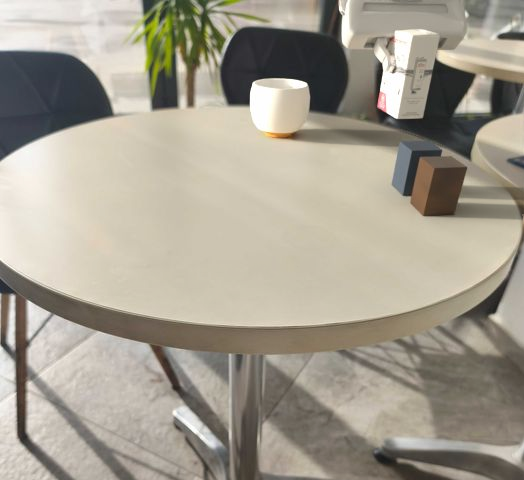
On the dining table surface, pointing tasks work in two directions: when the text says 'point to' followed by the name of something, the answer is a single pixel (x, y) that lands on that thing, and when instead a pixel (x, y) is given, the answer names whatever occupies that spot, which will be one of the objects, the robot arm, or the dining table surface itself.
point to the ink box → (409, 73)
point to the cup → (279, 105)
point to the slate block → (411, 163)
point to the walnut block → (438, 185)
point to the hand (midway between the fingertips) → (409, 69)
